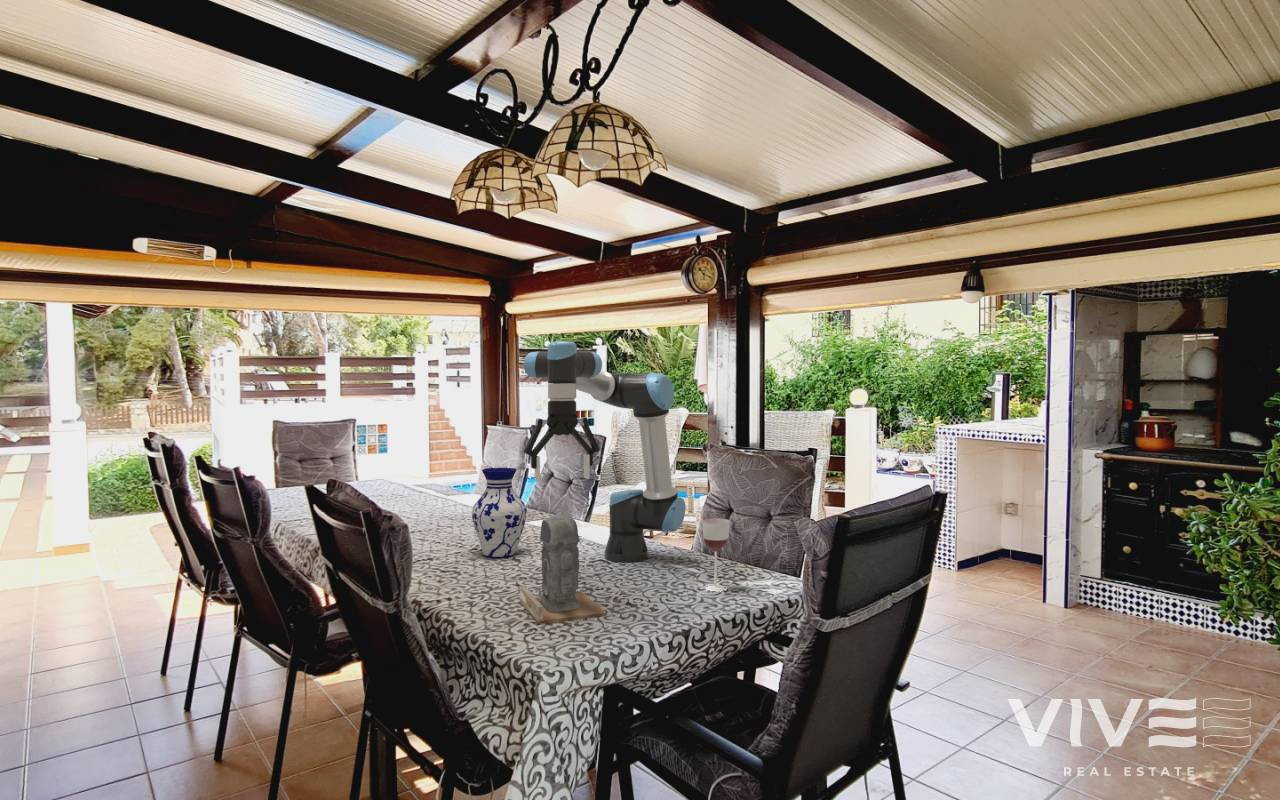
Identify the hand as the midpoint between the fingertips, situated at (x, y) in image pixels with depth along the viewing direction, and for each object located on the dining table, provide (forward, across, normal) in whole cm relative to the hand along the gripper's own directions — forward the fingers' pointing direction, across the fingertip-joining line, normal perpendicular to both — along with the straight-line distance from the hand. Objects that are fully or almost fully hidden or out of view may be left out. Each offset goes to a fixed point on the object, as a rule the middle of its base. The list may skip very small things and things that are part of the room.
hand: (562, 479), depth 192 cm
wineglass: (+35, -47, -1) cm, 58 cm away
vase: (+35, +3, -67) cm, 75 cm away
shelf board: (+34, 0, 0) cm, 34 cm away
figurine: (+34, +1, 0) cm, 34 cm away
